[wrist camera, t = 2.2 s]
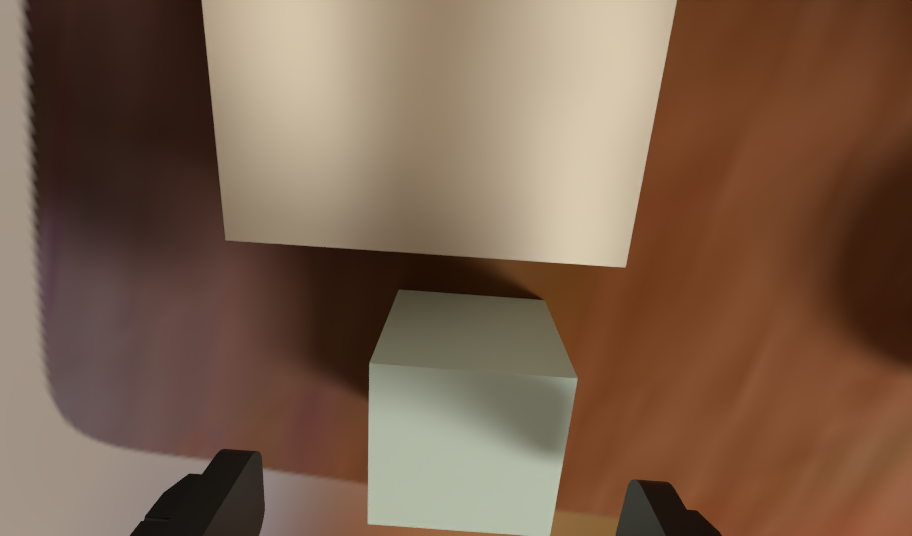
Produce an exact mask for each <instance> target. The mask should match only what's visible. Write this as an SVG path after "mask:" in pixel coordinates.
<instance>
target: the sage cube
mask: <svg viewBox="0 0 912 536" xmlns="http://www.w3.org/2000/svg"><path fill="white" fill-rule="evenodd" d="M577 379H578V378H577V376H576V373H575V371H574V369H573V366H572V364H571V362H570V359H569V357H568V355H567V352H566V350H565V348H564V345H563V343H562V341H561V338H560V336H559V334H558V331H557V329H556V327H555V324H554V322H553V320H552V317H551V315H550V313H549V310H548V308H547V306H546V303H545V301H544V300H535V299H522V298H508V297H494V296H481V295H467V294H453V293H440V292H426V291H412V290H398V293H397V295H396V298H395V300H394V303H393V305H392V308H391V310H390V313H389V315H388V318H387V320H386V323H385V325H384V328H383V330H382V333H381V335H380V338H379V340H378V343H377V345H376V348H375V350H374V353H373V355H372V358H371V360H370V363H369V445H368V524H376V525H389V526H403V527H416V528H430V529H445V530H458V531H471V532H486V533H499V534H513V535H527V536H550V533H551V527H552V521H553V516H554V510H555V504H556V498H557V493H558V487H559V481H560V476H561V470H562V464H563V459H564V453H565V447H566V442H567V436H568V430H569V425H570V419H571V413H572V408H573V402H574V396H575V391H576V385H577Z"/></svg>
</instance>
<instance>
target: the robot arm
mask: <svg viewBox="0 0 912 536" xmlns="http://www.w3.org/2000/svg"><path fill="white" fill-rule="evenodd" d="M264 511H265V502H264V486H263V469H262V457H261V454H260V452H258V451H246V450H232V449H222V450H220V451H219V452H218V453H217V454H216V456H215V457H214V458H213V460H212V461H211V463H210V464H209V465H208V467H207V468H206V470H205V471H204V472H203V474H188V475H187V476H185V477H184V478H183V479H181V480H180V481H179V482H177V483H176V484H175V485H173V486H172V487H171V488H169V489H168V490H167V491H165V492H164V493H163V494H162V495H161V497H160V498H159V499H158V500H157V502H156V503H155V504H154V505H153V507H152V508H151V510H150V511H149V512H148V513H147V514H146V516H145V519H144V521H141V522H140V523H139V525H138V526H137V527H136V528H135V530H134V531H133V532H132V533H131V535H130V536H259V534H260V531H261V527H262V523H263V518H264ZM616 536H722V535H721V534H720V532H719V531H718V530H717V529H716V528H715V527H713V526H712V525H711V524H710V523H709V522H708V521H707V520H706V519H705V518H704V517H703V516H702V515H701V514H700V513H699V512H698V511H696V510H687V509H686V508H685V506H684V504H683V503H682V501H681V499H680V497H679V496H678V494H677V492H676V491H675V489H674V487H673V486H672V485H671V484H670V483H668V482H662V481H648V480H631V481H630V483H629V485H628V488H627V492H626V496H625V500H624V504H623V508H622V511H621V515H620V519H619V523H618V527H617V532H616Z"/></svg>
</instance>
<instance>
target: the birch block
mask: <svg viewBox="0 0 912 536" xmlns="http://www.w3.org/2000/svg"><path fill="white" fill-rule="evenodd" d="M676 2H677V0H202V9H203V19H204V29H205V39H206V49H207V59H208V69H209V79H210V89H211V99H212V110H213V120H214V130H215V140H216V150H217V160H218V170H219V180H220V190H221V200H222V210H223V220H224V231H225V240H228V241H243V242H257V243H272V244H287V245H302V246H316V247H331V248H346V249H361V250H375V251H390V252H405V253H420V254H435V255H449V256H464V257H479V258H494V259H508V260H523V261H538V262H553V263H567V264H582V265H597V266H612V267H626V263H627V257H628V252H629V247H630V242H631V237H632V231H633V226H634V221H635V216H636V210H637V205H638V200H639V195H640V190H641V184H642V179H643V174H644V169H645V164H646V158H647V153H648V148H649V143H650V138H651V132H652V127H653V122H654V117H655V112H656V106H657V101H658V96H659V91H660V86H661V80H662V75H663V70H664V65H665V59H666V54H667V49H668V44H669V39H670V33H671V28H672V23H673V18H674V13H675V7H676Z"/></svg>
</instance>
